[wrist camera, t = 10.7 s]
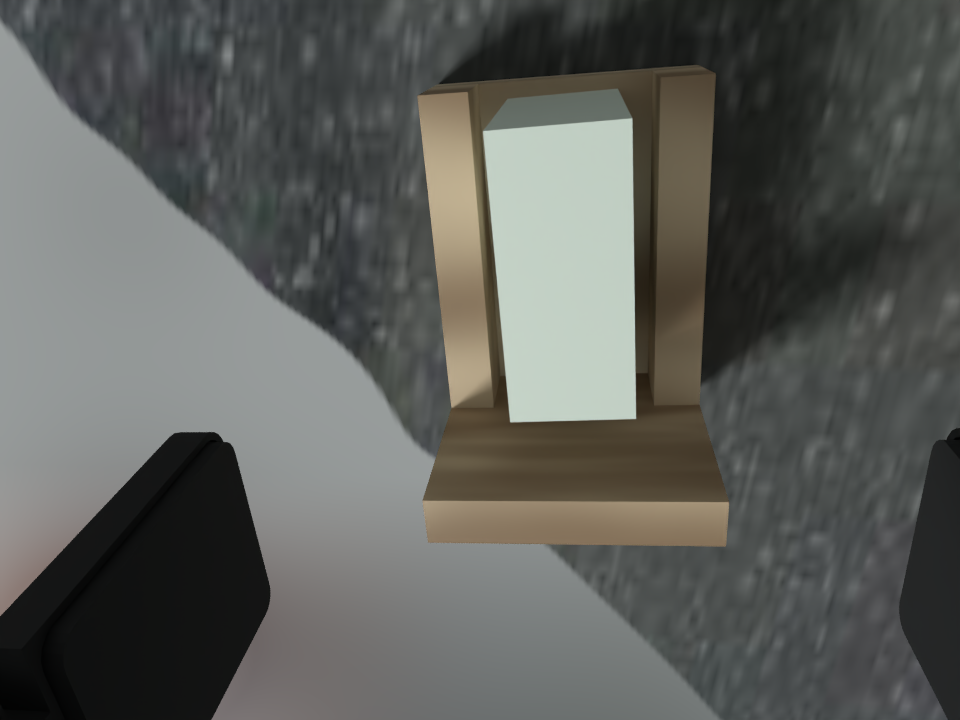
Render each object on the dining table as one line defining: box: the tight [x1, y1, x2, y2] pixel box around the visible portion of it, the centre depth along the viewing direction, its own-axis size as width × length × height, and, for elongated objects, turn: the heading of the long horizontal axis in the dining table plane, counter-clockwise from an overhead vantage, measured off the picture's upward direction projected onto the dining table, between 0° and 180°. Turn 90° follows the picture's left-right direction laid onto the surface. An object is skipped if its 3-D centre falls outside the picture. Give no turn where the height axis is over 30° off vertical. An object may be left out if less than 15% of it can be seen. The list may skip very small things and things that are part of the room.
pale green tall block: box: [483, 89, 636, 422], centre depth 22 cm, size 8×4×7 cm, turn 6°
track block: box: [418, 65, 729, 546], centre depth 23 cm, size 12×8×9 cm
